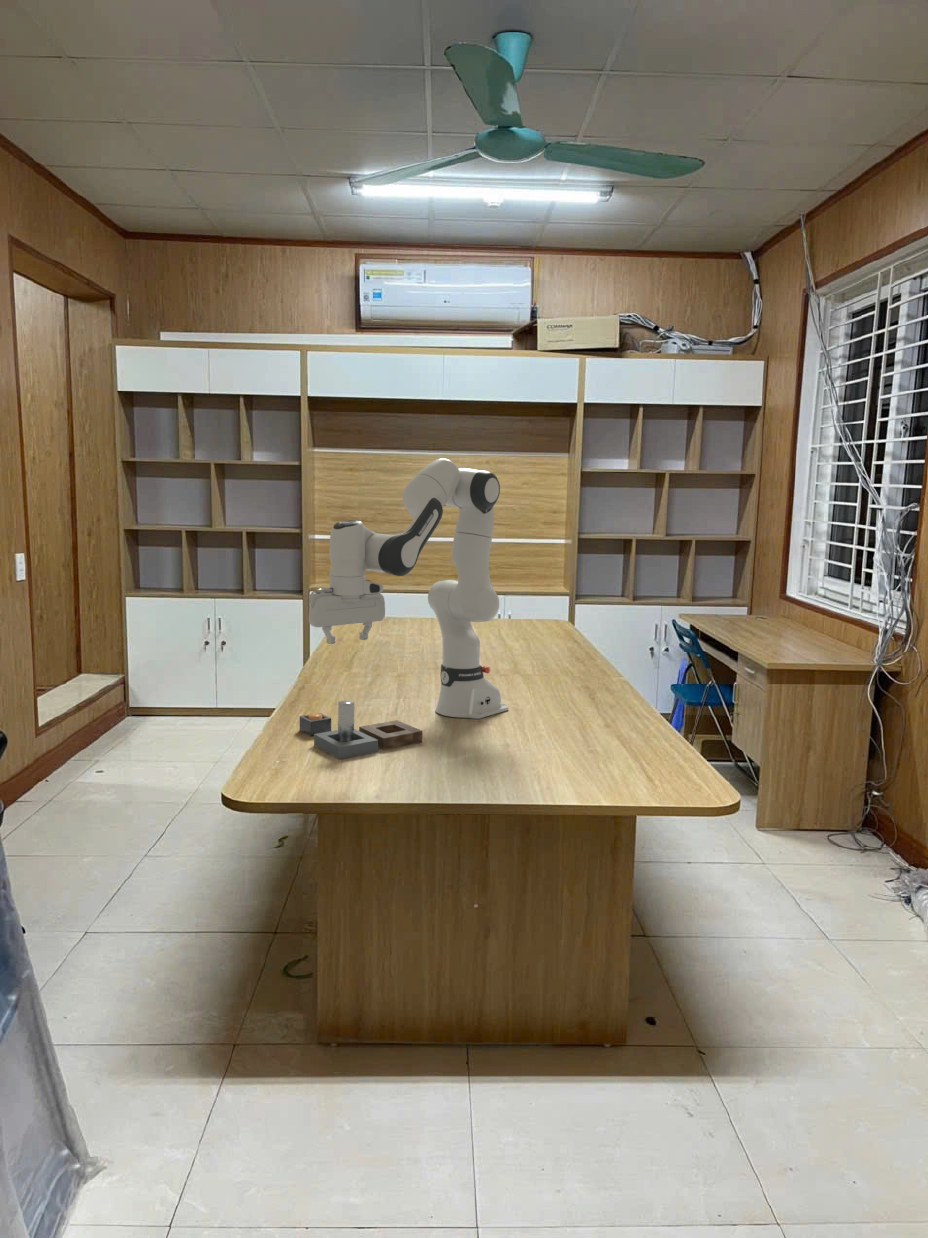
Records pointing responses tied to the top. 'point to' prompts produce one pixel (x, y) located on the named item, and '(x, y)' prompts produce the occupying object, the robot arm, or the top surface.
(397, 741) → the socket block
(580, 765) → the top surface
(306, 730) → the dark grey open box
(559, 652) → the top surface
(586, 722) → the top surface
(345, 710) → the grey metal cylinder
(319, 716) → the brown egg
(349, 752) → the block
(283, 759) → the top surface
